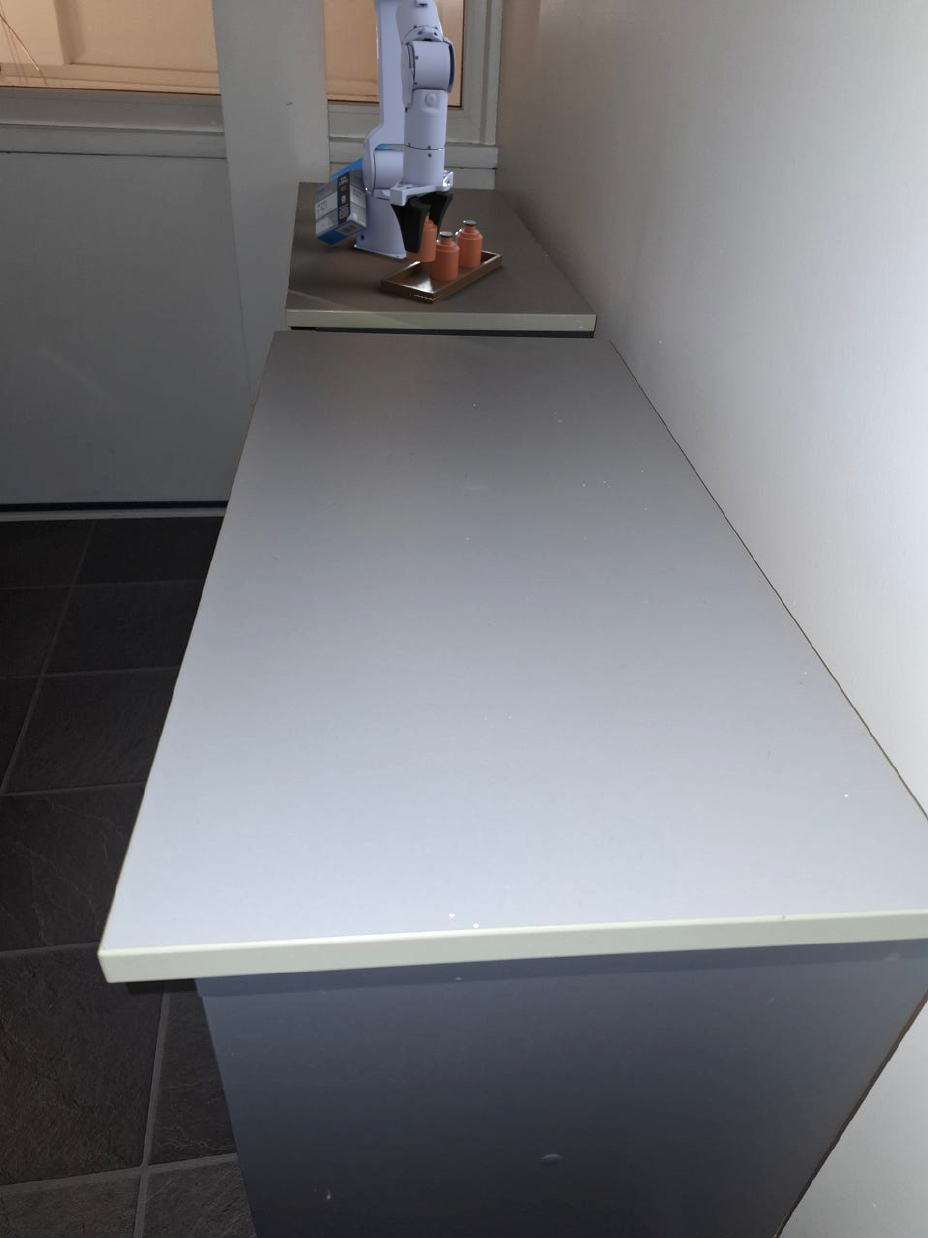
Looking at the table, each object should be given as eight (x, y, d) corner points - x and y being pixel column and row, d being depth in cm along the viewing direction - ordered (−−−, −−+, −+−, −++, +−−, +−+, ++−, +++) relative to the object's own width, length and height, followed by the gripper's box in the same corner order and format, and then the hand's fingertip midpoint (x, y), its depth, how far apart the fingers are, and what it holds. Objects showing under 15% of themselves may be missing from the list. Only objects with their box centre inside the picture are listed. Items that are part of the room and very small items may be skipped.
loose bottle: (400, 257, 127) (401, 210, 123) (415, 250, 130) (417, 204, 126) (426, 264, 125) (428, 217, 121) (440, 256, 128) (443, 210, 124)
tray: (432, 307, 127) (433, 293, 126) (380, 292, 130) (380, 279, 129) (501, 267, 143) (502, 254, 142) (453, 254, 146) (453, 242, 145)
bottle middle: (424, 276, 136) (426, 233, 131) (438, 269, 139) (440, 227, 134) (449, 283, 134) (451, 239, 130) (462, 275, 137) (465, 233, 133)
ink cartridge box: (314, 238, 142) (312, 166, 143) (332, 246, 145) (330, 175, 146) (350, 219, 136) (348, 144, 137) (368, 228, 139) (366, 154, 140)
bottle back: (449, 263, 141) (451, 222, 137) (461, 257, 144) (464, 216, 140) (472, 269, 140) (476, 227, 135) (484, 262, 143) (488, 221, 139)
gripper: (423, 159, 112) (418, 265, 120) (474, 141, 122) (466, 241, 131) (377, 149, 114) (376, 254, 123) (431, 133, 124) (426, 231, 133)
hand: (420, 247), depth 127 cm, fingers closed on loose bottle, 4 cm apart
